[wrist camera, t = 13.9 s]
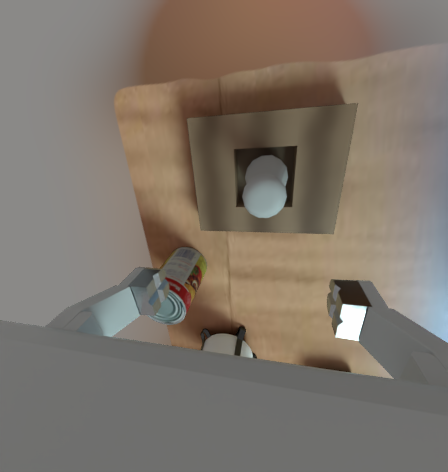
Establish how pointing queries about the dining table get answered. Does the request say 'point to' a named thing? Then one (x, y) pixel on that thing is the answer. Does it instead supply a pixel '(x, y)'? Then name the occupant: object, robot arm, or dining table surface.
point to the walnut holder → (283, 147)
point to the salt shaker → (265, 186)
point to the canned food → (180, 284)
